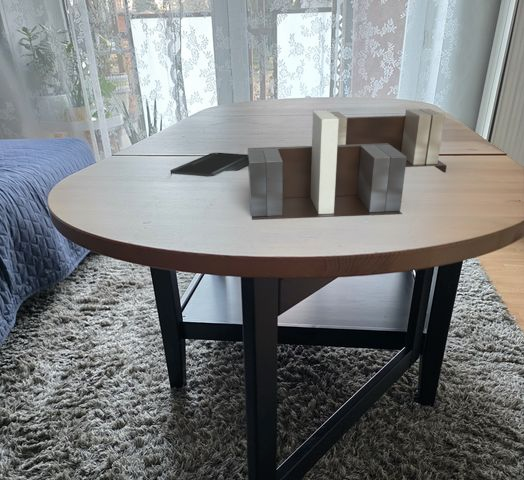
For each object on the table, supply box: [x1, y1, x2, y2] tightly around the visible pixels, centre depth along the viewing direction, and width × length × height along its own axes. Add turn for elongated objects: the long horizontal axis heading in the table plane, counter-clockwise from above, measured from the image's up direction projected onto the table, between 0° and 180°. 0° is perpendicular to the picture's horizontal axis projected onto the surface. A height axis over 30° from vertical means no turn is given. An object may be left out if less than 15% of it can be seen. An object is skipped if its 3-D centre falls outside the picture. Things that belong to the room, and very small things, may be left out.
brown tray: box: [330, 108, 447, 173], centre depth 79 cm, size 18×9×8 cm, turn 93°
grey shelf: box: [247, 143, 407, 221], centre depth 60 cm, size 17×9×7 cm, turn 93°
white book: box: [311, 110, 339, 214], centre depth 58 cm, size 2×7×10 cm, turn 3°
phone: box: [169, 152, 248, 178], centre depth 82 cm, size 8×1×15 cm
